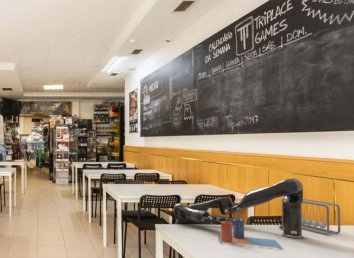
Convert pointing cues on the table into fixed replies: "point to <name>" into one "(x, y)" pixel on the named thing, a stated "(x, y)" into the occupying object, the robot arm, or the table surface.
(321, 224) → the newton's cradle
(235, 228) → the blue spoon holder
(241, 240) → the sorting board
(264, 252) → the table surface
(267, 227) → the table surface
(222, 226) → the terracotta spoon holder
